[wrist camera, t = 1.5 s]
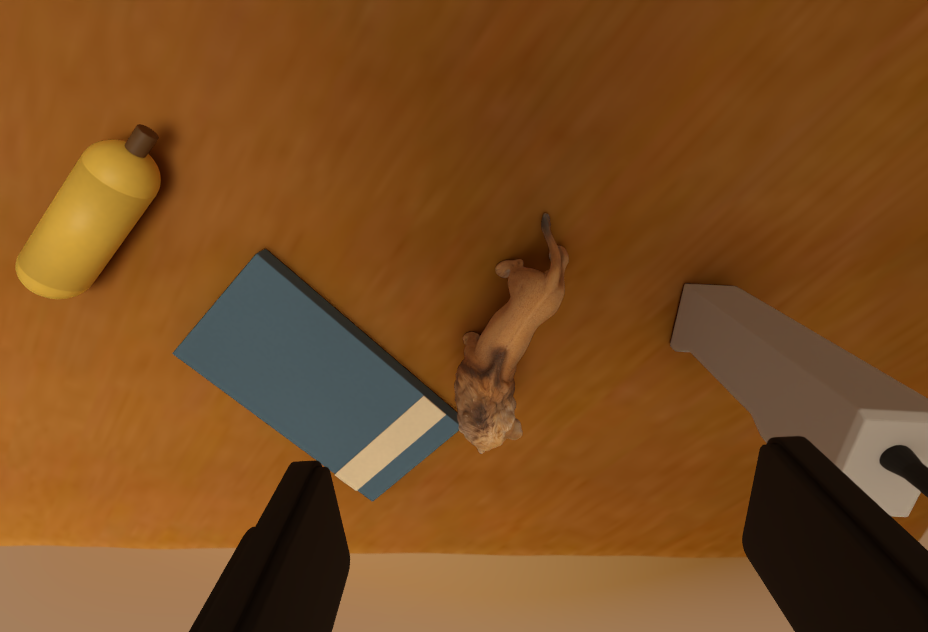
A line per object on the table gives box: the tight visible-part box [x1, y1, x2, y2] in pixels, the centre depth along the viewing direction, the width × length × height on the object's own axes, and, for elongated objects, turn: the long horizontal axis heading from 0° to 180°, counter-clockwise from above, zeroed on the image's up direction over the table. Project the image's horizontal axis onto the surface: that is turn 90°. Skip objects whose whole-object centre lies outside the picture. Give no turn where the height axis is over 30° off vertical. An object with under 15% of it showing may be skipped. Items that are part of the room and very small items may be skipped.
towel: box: [173, 249, 459, 501], centre depth 36 cm, size 20×11×2 cm, turn 45°
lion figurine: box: [454, 213, 569, 454], centre depth 30 cm, size 15×5×9 cm, turn 163°
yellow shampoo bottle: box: [15, 124, 161, 299], centre depth 30 cm, size 15×4×4 cm, turn 135°
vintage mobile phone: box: [670, 284, 928, 517], centre depth 22 cm, size 4×5×25 cm
